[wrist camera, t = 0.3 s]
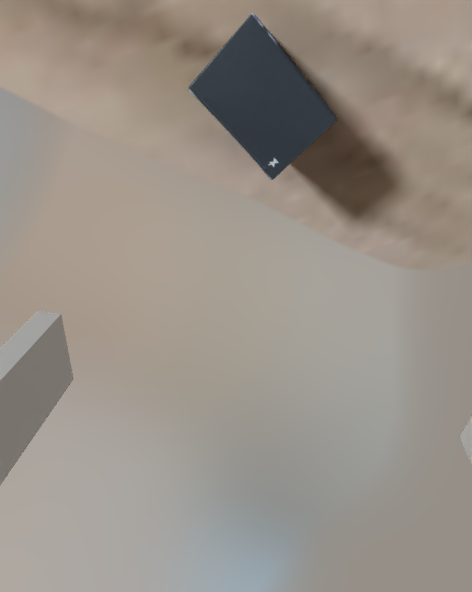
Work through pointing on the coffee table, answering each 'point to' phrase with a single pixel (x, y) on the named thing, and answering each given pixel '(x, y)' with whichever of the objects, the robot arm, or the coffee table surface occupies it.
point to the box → (262, 98)
